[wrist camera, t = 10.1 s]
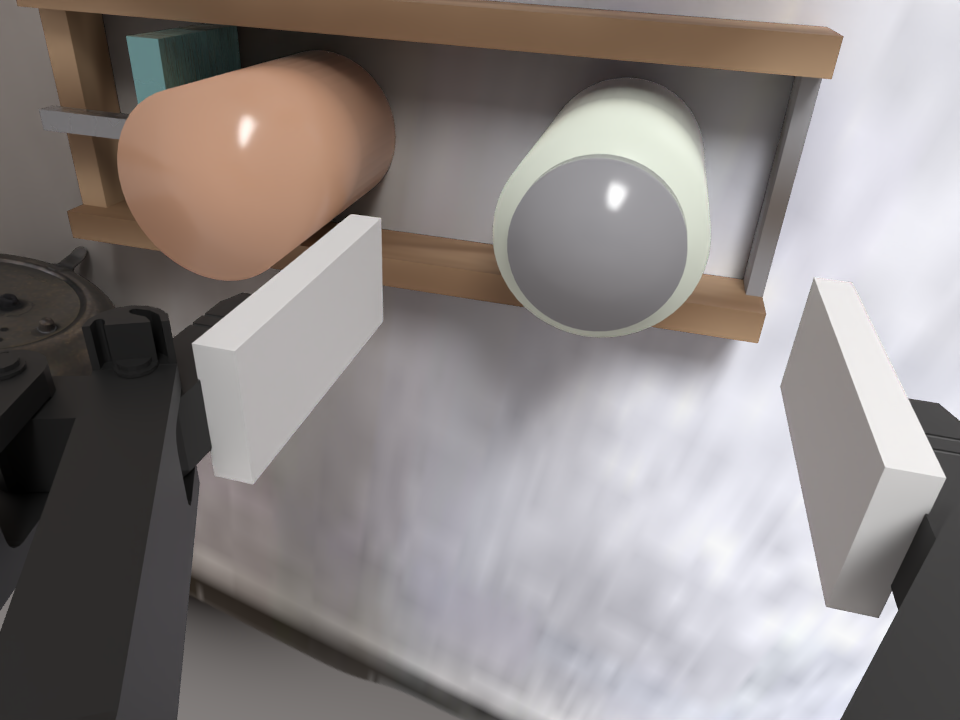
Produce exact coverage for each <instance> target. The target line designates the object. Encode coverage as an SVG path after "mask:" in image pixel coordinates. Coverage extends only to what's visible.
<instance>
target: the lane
mask: <svg viewBox="0 0 960 720" xmlns="http://www.w3.org/2000/svg"><path fill="white" fill-rule="evenodd" d="M16 1H17V6H21V7H32V8H39V13H40V17H41V22H42V26H43V30H44V35H45V39H46V44H47V48H48V52H49V57H50V61H51V65H52V70H53V74H54V79H55V83H56V87H57V92H58V96H59V101H60V105H61V106H62V107H71V108H79V109H88V110H96V111H105V112H113V113H120V108H119V103H118V98H117V92H116V87H115V82H114V77H113V71H112V66H111V61H110V55H109V50H108V45H107V40H106V34H105V29H104V24H103V18H102V14H110V15H121V16H133V17H144V18H155V19H166V20H177V21H188V22H199V23H211V24H222V25H233V26H244V27H255V28H266V29H277V30H289V31H300V32H311V33H322V34H333V35H344V36H355V37H367V38H378V39H389V40H400V41H411V42H422V43H433V44H445V45H456V46H467V47H478V48H489V49H500V50H511V51H523V52H534V53H545V54H556V55H567V56H578V57H589V58H601V59H612V60H623V61H634V62H645V63H656V64H667V65H679V66H690V67H701V68H712V69H723V70H734V71H745V72H757V73H768V74H779V75H790V76H795V79H794V82H793V86H792V90H791V94H790V98H789V102H788V106H787V110H786V114H785V118H784V122H783V126H782V130H781V134H780V137H779V141H778V145H777V149H776V153H775V157H774V161H773V165H772V169H771V173H770V177H769V181H768V185H767V189H766V192H765V196H764V200H763V204H762V208H761V212H760V216H759V220H758V224H757V228H756V232H755V236H754V240H753V244H752V247H751V251H750V255H749V259H748V263H747V267H746V271H745V275H744V279H736V278H729V277H721V276H714V275H707V274H702V276H701V279H700V281H699V283H698V284H697V286H696V287H695V289H694V291H693V292H692V294H691V295H690V296H689V297H688V298H687V300H686V301H685V302H684V303H683V304H682V305H681V306H680V307H679V308H678V309H677V310H676V311H675V312H674V313H672V314H671V315H670V316H668V317H667V318H665V319H664V320H662V321H661V322H659V323H657V324H655V325H653V326H651V327H656V328H662V329H669V330H675V331H682V332H688V333H695V334H701V335H708V336H714V337H720V338H727V339H733V340H740V341H746V342H753V343H758V341H759V338H760V334H761V330H762V327H763V323H764V320H765V316H766V312H765V307H764V302H763V298H762V297H763V293H764V290H765V286H766V282H767V279H768V275H769V271H770V267H771V264H772V260H773V256H774V253H775V249H776V245H777V242H778V238H779V234H780V231H781V227H782V223H783V220H784V216H785V212H786V209H787V205H788V201H789V198H790V194H791V190H792V187H793V183H794V179H795V176H796V172H797V168H798V165H799V161H800V157H801V154H802V150H803V146H804V143H805V139H806V135H807V132H808V128H809V124H810V121H811V117H812V113H813V110H814V106H815V102H816V99H817V95H818V91H819V88H820V84H821V80H822V78H823V79H832V76H833V72H834V69H835V65H836V61H837V58H838V54H839V51H840V47H841V43H842V40H843V36H842V35H840V34H838V33H837V32H835V31H833V30H831V29H830V28H828V27H820V26H807V25H794V24H781V23H769V22H756V21H743V20H730V19H717V18H704V17H691V16H678V15H665V14H653V13H640V12H627V11H614V10H601V9H588V8H575V7H562V6H549V5H537V4H524V3H511V2H498V1H485V0H16ZM67 136H68V140H69V144H70V149H71V153H72V158H73V162H74V166H75V171H76V175H77V180H78V184H79V188H80V193H81V197H82V202H83V205H80V206H78V207H76V208H73V209H71V210H69V211H67V213H68V218H69V222H70V226H71V230H72V234H73V238H79V239H86V240H92V241H99V242H105V243H112V244H118V245H125V246H131V247H138V248H144V249H151V250H157V251H161V250H159V249H158V248H157V247H156V246H155V245H154V244H153V242H152V241H151V240H150V239H149V238H148V237H147V236H146V234H145V233H144V232H143V230H142V229H141V228H140V226H139V225H138V223H137V221H136V220H135V218H134V216H133V215H132V213H131V211H130V209H129V207H128V205H127V202H126V200H125V197H124V194H123V191H122V188H121V184H120V180H119V174H118V166H117V152H118V143H119V139H112V138H104V137H96V136H88V135H80V134H72V133H67ZM338 224H339V223H335V222H328V223H327V224H326V225H325V226H323V227H322V228H321V229H319V230H318V231H317V232H316V233H314V234H313V235H312V236H310V237H309V238H308V239H306V240H305V241H304V242H303V243H301V244H300V245H299V246H297V247H296V248H295V249H294V250H292V251H291V252H290V253H288V254H287V255H286V256H284V257H283V258H282V259H281V260H279V261H278V262H277V263H275V264H274V265H273V266H271V267H270V268H274V269H280V270H283V269H284V268H285V267H286V266H288V265H289V264H290V263H291V262H292V261H294V260H295V259H296V258H297V257H299V256H300V255H301V254H302V253H304V252H305V251H306V250H307V249H308V248H310V247H311V246H312V245H313V244H315V243H316V242H317V241H318V240H319V239H321V238H322V237H323V236H324V235H326V234H327V233H328V232H329V231H331V230H332V229H333V228H334V227H335V226H337V225H338ZM381 232H382V285H384V286H390V287H397V288H403V289H410V290H416V291H423V292H429V293H436V294H442V295H449V296H455V297H461V298H468V299H474V300H481V301H487V302H494V303H500V304H507V305H513V306H520V307H524V306H523V305H522V304H521V303H520V302H519V301H518V300H517V298H516V297H515V296H514V294H513V293H512V292H511V290H510V289H509V287H508V286H507V284H506V282H505V281H504V279H503V277H502V274H501V272H500V270H499V267H498V265H497V261H496V257H495V254H494V247H493V245H492V244H485V243H478V242H471V241H464V240H457V239H449V238H442V237H435V236H428V235H421V234H414V233H406V232H399V231H392V230H385V229H381Z"/></svg>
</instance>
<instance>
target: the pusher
mask: <svg viewBox="0 0 960 720" xmlns="http://www.w3.org/2000/svg"><path fill="white" fill-rule="evenodd" d="M126 39H127V45H128V50H129V56H130V62H131V67H132V73H133V79H134V84H135V90H136V96H137V101H138V104H139V103H141V102H142V101H143V100H144V99H146V98H147V97H149V96H151V95H153V94H155V93H157V92H160V91H163V90H167V89H170V88H174V87H177V86H181V85H185V84H188V83H192V82H196V81H199V80H203V79H206V78H210V77H214V76H217V75H221V74H225V73H228V72H232V71H235V70H239V69H241V62H240V53H239V43H238V34H237V26H233V25H222V24H211V23H204V24H198V25H192V26H186V27H179V28H173V29H167V30H160V31H154V32H148V33H142V34H135V35H129V36H126ZM39 112H40V116H41V120H42V124H43V128H44V130H48V131H56V132H64V133H72V134H80V135H88V136H96V137H104V138H112V139H120V135H121V131H122V129H123V126H124V124H125V121H126V120H127V118H128V117H129V115H130V114H122V113H113V112H105V111H96V110H88V109H79V108H71V107H62V106H50V107H46V108H42V109H39Z"/></svg>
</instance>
